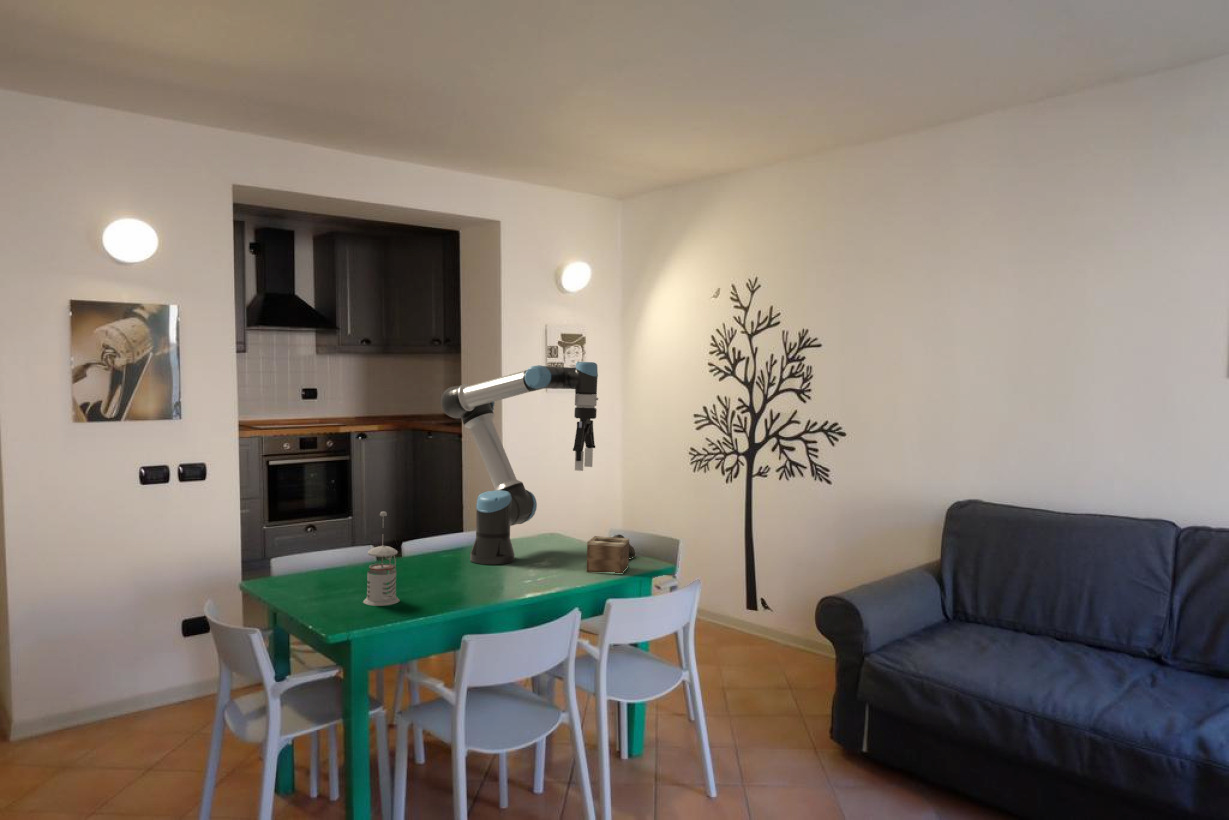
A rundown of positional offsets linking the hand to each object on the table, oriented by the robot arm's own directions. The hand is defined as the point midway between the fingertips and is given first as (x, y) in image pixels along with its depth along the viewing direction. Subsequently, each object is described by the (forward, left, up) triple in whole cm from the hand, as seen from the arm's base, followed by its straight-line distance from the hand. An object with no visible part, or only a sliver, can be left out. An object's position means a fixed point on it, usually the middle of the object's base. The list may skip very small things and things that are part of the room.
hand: (583, 468), depth 283 cm
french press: (-41, -64, -33) cm, 83 cm away
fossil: (+11, +13, -33) cm, 37 cm away
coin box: (+11, -7, -33) cm, 35 cm away
